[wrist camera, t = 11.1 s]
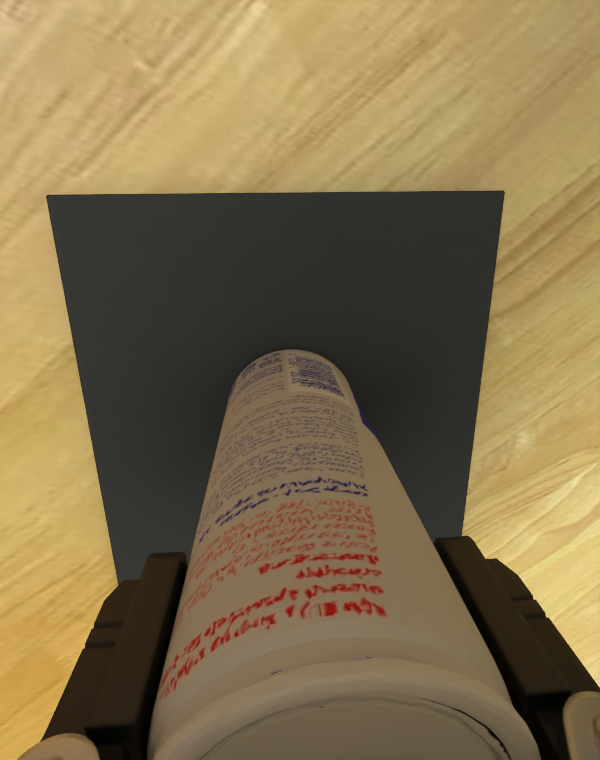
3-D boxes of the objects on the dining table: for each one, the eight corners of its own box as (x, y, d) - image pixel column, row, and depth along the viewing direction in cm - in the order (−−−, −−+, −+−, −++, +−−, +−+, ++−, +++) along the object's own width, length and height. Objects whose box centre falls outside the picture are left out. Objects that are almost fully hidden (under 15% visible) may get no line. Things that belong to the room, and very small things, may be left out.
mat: (52, 196, 17) (45, 194, 16) (498, 191, 18) (505, 190, 18) (140, 678, 25) (137, 689, 25) (441, 656, 26) (445, 665, 26)
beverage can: (205, 424, 20) (47, 901, 6) (271, 321, 19) (279, 609, 4) (307, 479, 21) (384, 980, 7) (375, 387, 20) (641, 774, 6)
